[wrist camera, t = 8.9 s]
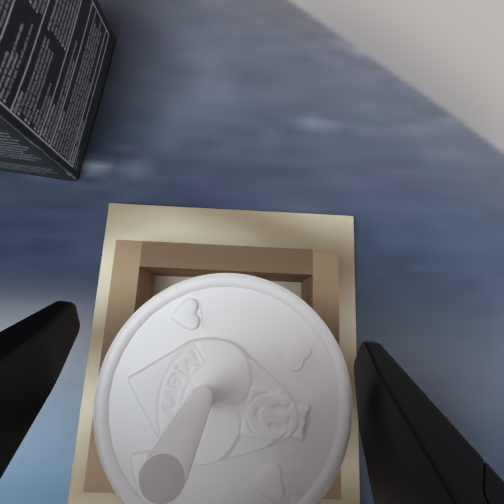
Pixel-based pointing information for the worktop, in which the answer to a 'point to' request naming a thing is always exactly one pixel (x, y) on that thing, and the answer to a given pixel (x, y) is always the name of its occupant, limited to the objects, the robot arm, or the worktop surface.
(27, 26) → the small box
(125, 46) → the worktop surface
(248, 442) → the smoothie
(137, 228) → the bottle stand
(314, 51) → the worktop surface
